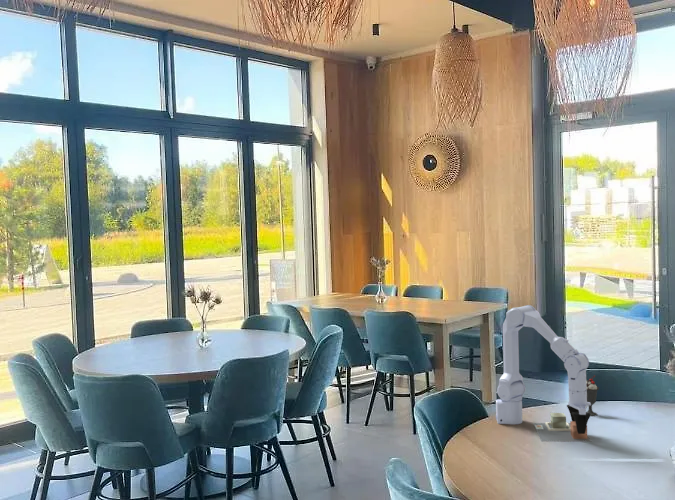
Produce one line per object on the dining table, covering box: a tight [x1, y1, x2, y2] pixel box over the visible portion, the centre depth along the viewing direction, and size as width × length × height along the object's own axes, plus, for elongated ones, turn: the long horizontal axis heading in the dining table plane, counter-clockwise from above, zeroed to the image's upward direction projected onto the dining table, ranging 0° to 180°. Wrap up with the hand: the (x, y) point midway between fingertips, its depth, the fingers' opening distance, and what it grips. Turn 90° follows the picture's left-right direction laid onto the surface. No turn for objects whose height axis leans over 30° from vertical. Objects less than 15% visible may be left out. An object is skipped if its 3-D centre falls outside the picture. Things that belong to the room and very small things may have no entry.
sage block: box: [549, 412, 567, 429], centre depth 231 cm, size 4×4×4 cm
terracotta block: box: [569, 420, 588, 439], centre depth 220 cm, size 4×4×4 cm
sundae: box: [586, 375, 600, 417], centre depth 247 cm, size 7×7×15 cm
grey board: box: [532, 421, 592, 443], centre depth 226 cm, size 16×20×1 cm
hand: (578, 429), depth 220 cm, fingers open, 7 cm apart
